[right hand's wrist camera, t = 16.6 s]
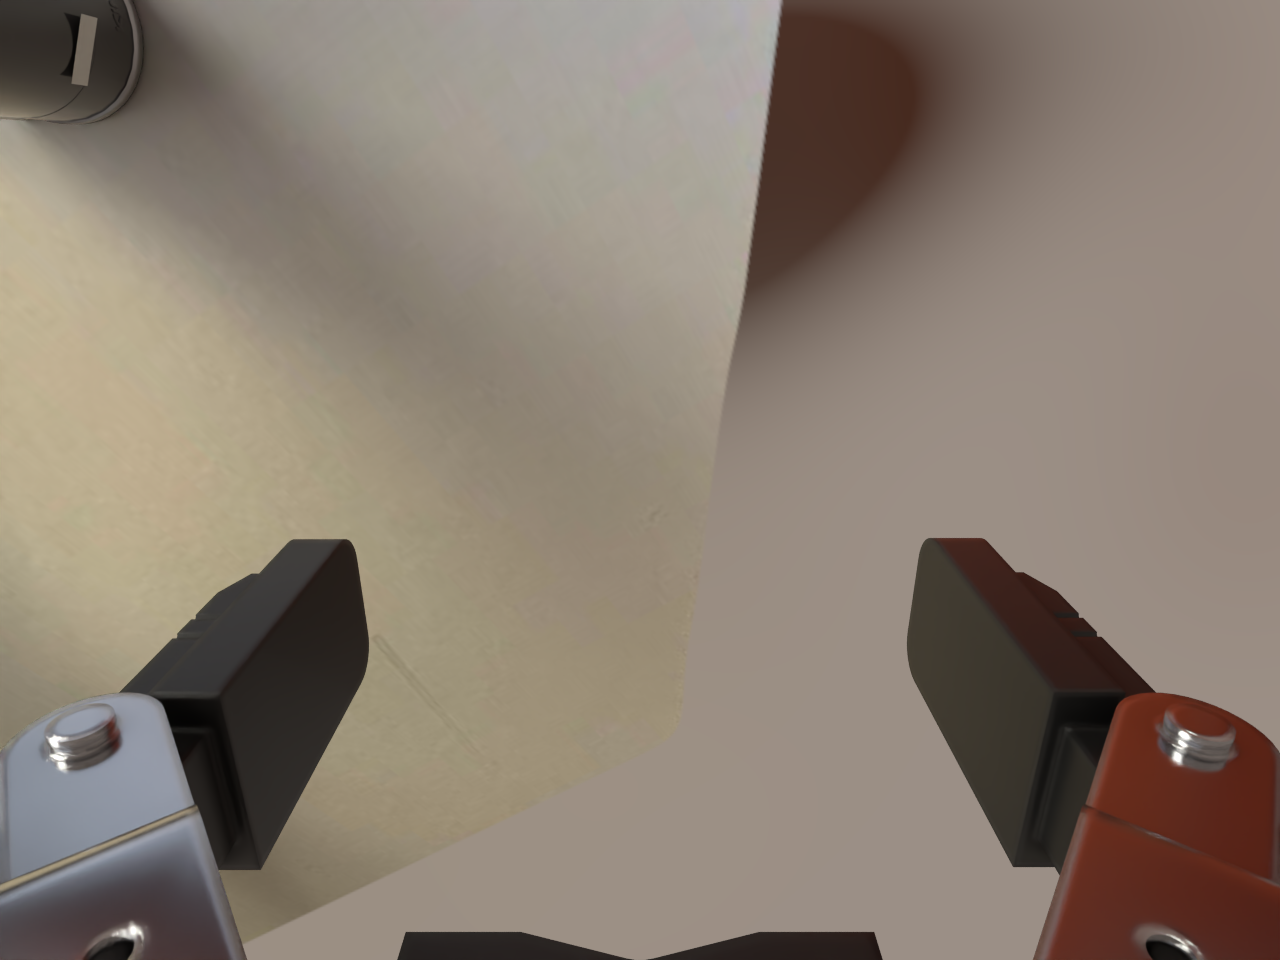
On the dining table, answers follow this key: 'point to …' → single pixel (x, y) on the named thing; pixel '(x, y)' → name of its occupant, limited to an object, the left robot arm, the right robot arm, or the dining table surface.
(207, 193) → the dining table surface
